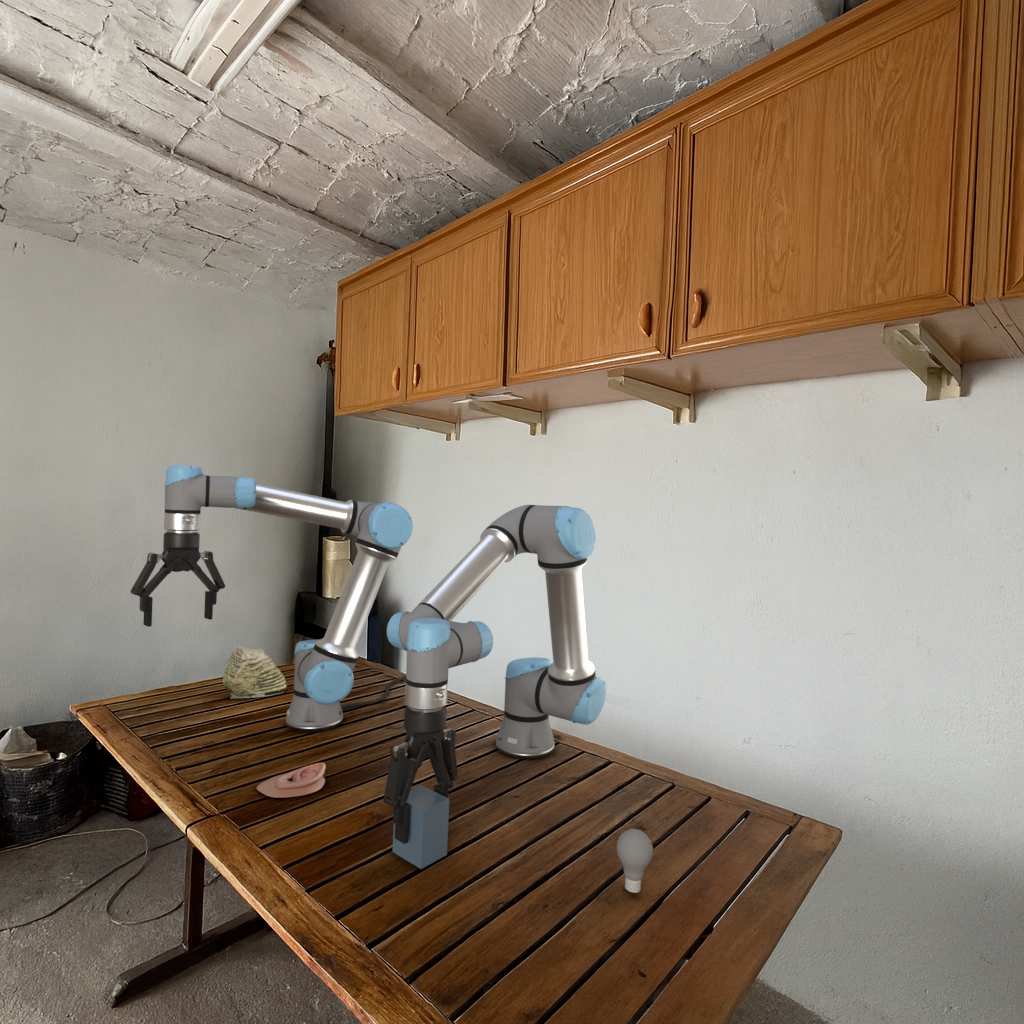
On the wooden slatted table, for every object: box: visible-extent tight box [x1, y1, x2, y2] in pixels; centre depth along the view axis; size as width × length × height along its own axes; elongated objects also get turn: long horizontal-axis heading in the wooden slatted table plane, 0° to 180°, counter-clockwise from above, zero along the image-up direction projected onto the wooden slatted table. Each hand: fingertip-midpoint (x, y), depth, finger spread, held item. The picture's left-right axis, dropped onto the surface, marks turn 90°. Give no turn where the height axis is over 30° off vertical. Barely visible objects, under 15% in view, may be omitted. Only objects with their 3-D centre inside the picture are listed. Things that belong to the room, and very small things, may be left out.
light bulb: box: [615, 828, 654, 894], centre depth 106 cm, size 6×6×10 cm
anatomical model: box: [256, 762, 327, 799], centre depth 137 cm, size 13×4×12 cm
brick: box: [392, 784, 450, 870], centre depth 114 cm, size 6×8×10 cm
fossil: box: [222, 646, 288, 699], centre depth 198 cm, size 9×18×15 cm, turn 132°
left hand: (178, 622), depth 148 cm, fingers open, 13 cm apart
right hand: (420, 830), depth 114 cm, fingers open, 8 cm apart
